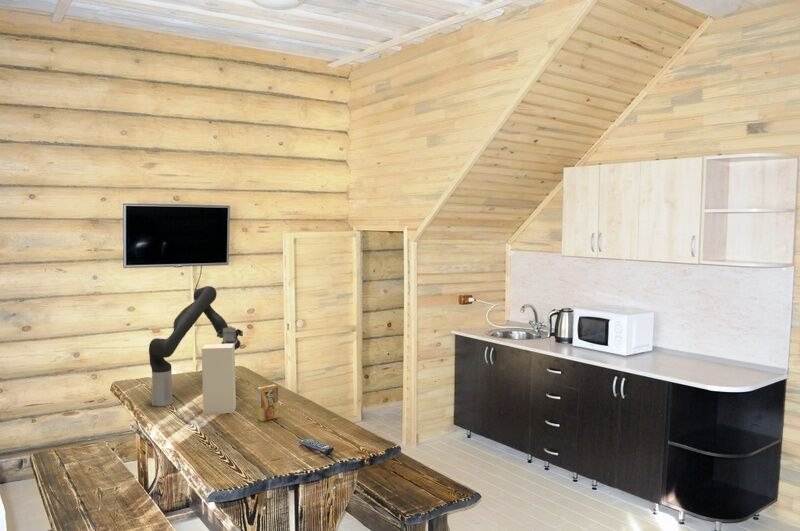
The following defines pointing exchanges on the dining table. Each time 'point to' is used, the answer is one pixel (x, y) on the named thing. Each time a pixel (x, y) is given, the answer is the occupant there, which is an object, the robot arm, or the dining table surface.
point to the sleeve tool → (229, 334)
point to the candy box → (267, 402)
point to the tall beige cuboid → (218, 378)
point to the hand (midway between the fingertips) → (229, 329)
